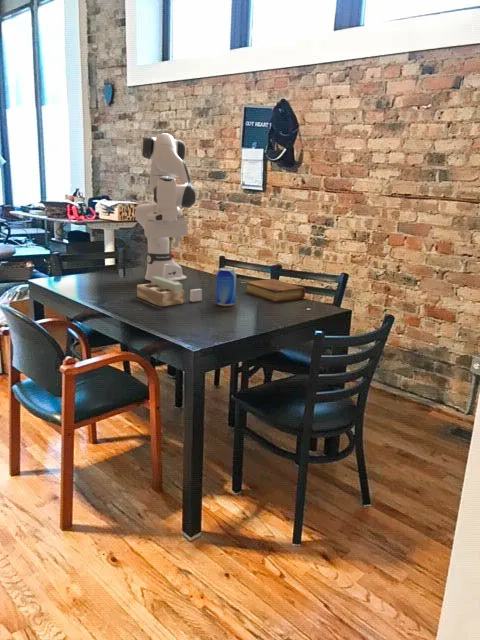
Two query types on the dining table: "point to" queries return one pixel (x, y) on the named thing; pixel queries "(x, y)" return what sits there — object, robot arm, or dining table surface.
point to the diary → (275, 290)
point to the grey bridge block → (166, 283)
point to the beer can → (226, 287)
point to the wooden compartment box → (160, 295)
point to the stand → (195, 294)
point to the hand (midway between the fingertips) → (166, 247)
